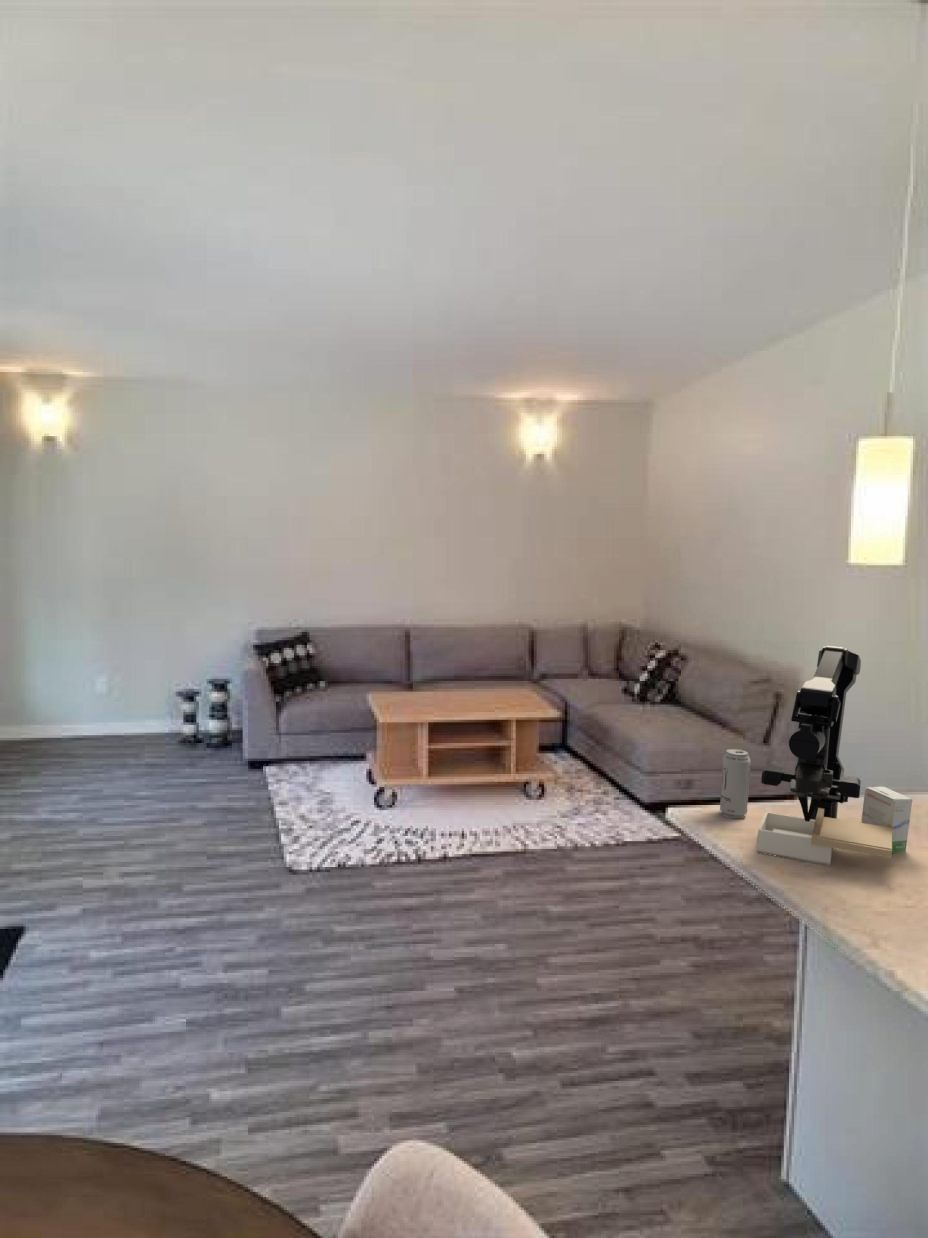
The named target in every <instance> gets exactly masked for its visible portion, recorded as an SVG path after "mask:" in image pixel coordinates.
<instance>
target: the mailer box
mask: <svg viewBox="0 0 928 1238" xmlns="http://www.w3.org/2000/svg"><path fill="white" fill-rule="evenodd" d="M814 824H815V820H813V819H810V821H809V822H807V821H805V819H804V817H799V816H794V815H788V814H787V815H786V814H782V813H781V814H780V813H777V812H776V813H775V812H770V811H769V812H768V811H765V813H764V816H763V818H762V820H761V821H760V825H759V827H758V830H757V841H756V842H757V844H756V846H757V847H756V853H757V852H758V853H757V854H760V853H766V854H771V855H776V856H775V857H777V856H779V857H778V858H782V857H784V858H783V859H787V858H790V859H789V860H794V861H798V860H799V861H798V862H805V863H809V864H815V865H820V866H825V867H826V866H827V867H830V866H831V862H832V856H833V851H834V850H833V849H834V848H832V847H826V846H821V845H815V844H811V841H812V834H813V830H814ZM766 854H765V855H766ZM771 855H770V856H771Z"/></svg>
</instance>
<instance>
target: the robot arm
mask: <svg viewBox="0 0 928 1238" xmlns="http://www.w3.org/2000/svg"><path fill="white" fill-rule="evenodd" d="M861 664H862V660H861V657H860V656H859V655H858V654H856V653H855V652H852V651H849V649H848V648H845V647H844V646H833V645H826V646H823V647H822V649H821V650H819V651H818V658H817V663H816V671H815V673H814V676H813V678H811V679H809V680H806V681H805V682H803V684H802V686H801V688H800V690H798V691H796V695H795V700H794V705H793V708H792V709H793V710H792V715H791V719H790V720H791V721H790V722H795V723H798V726H797V727H798V728H797V730H796V731H795V732H794V733H793V734H792V735H791V736H790V737H789V740H788V747H789V750H790V752H791V754H792V755H794V756H795V757H796V758H797V761H796V765H795V767H794V768H795V770H794V773H793V772H786V771H785V767H784V766H777V765H773V764H767V765H765V766H764V768H763V770H762V772H761V781H760V783H761V784H762V785H766V786H774V787H778V786H779V785H780V784H781V783H782V782H784V783H790V789H789V791H790V792H791V793H794V794H795V795H796V797H797V799H798V801H799V804H800V807H801V810H802V813H803V814H802V815H803V818H804V819H805V821H807V822H809V821H810V819H813V820H815V819H816V815H817V811H818V808H822V809H824V817H829V818H835V819H838V806H839V804H844V803H848V802H849V798H853V799H859V798H860V793H861V783H862V782H861V780H860V778H859V777H856V776H855V777H854V776H850V775H849V776H848V775H845V768H844V766H843V764H842V762H841V759H840V756H839V752H840V744H841V737H842V736H841V735H842V730H843V721H844V714H845V706H846V699H847V692H849V690H850V689H851V688H852V687H853V686H854V685H855V684H856V680H857V676H858V675H860V672H861V666H862V665H861ZM809 798H810V802H809ZM809 803H810V804H809Z"/></svg>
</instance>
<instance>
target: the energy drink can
mask: <svg viewBox="0 0 928 1238" xmlns="http://www.w3.org/2000/svg"><path fill="white" fill-rule="evenodd" d="M725 752H726V753H725V754H724V755H723V757H722V768H721V769H722V772H721V773H722V774H721V784H720V785H721V786H720V787H721V788H720V803H719V811H721V814H722V815H723V817H726V818H730V819H742V818H744V817H745V815H747V813H748V806H749V805H748V804H749V790H750V789H749V787H750V774H751V762H752V761H751V758H750V756H749V752H748V751H746V750H744V749H739V748H730V749H726V751H725Z"/></svg>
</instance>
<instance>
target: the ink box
mask: <svg viewBox="0 0 928 1238" xmlns="http://www.w3.org/2000/svg"><path fill="white" fill-rule="evenodd" d="M912 803H913V798H910V797H908V796H906V795H904V794H902V793H899V792H897V791H894V790H892V789H890V788H888V787H885V786H869V787H865V789H864V796H863V804H862V805H863V806H862V814H861V822H860V823H865V824H872V825H878V826H884V827H890V828H892V854H896V853H906V852H907V851H906V850H907V843H908V835H909V828H910V821H911V812H912Z"/></svg>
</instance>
